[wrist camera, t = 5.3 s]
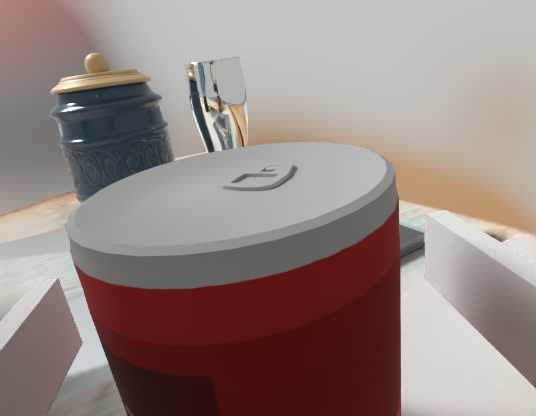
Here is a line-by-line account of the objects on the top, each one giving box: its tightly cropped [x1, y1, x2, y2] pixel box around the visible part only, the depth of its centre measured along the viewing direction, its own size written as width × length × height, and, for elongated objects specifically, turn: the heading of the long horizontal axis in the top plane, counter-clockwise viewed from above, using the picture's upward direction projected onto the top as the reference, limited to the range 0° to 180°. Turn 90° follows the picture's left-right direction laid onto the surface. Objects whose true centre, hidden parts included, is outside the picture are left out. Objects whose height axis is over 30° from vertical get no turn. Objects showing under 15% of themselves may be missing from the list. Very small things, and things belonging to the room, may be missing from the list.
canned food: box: [65, 142, 401, 416], centre depth 11 cm, size 8×8×11 cm
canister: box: [49, 53, 175, 203], centre depth 47 cm, size 13×13×18 cm
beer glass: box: [185, 57, 248, 153], centre depth 47 cm, size 7×7×15 cm
